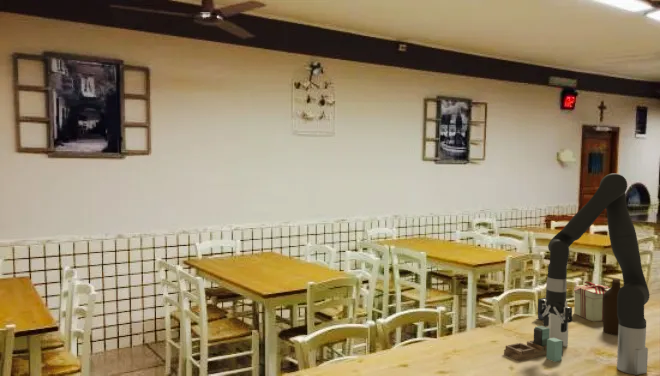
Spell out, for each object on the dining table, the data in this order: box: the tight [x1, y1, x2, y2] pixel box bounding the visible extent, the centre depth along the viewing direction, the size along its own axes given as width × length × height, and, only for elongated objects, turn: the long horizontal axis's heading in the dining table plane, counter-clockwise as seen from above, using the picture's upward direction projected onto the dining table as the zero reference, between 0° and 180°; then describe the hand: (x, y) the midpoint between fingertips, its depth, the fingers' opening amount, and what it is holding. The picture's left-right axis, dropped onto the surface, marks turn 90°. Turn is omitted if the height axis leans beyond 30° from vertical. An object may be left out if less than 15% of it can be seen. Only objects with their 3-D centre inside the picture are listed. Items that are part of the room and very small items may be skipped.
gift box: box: [573, 281, 611, 322], centre depth 284 cm, size 17×18×17 cm
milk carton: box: [547, 300, 569, 348], centre depth 242 cm, size 7×7×19 cm
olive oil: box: [602, 278, 621, 336], centre depth 259 cm, size 11×11×25 cm
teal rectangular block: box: [546, 338, 564, 363], centre depth 223 cm, size 4×5×8 cm
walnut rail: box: [503, 325, 550, 361], centre depth 230 cm, size 8×22×10 cm, turn 117°
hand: (554, 328), depth 223 cm, fingers open, 8 cm apart
